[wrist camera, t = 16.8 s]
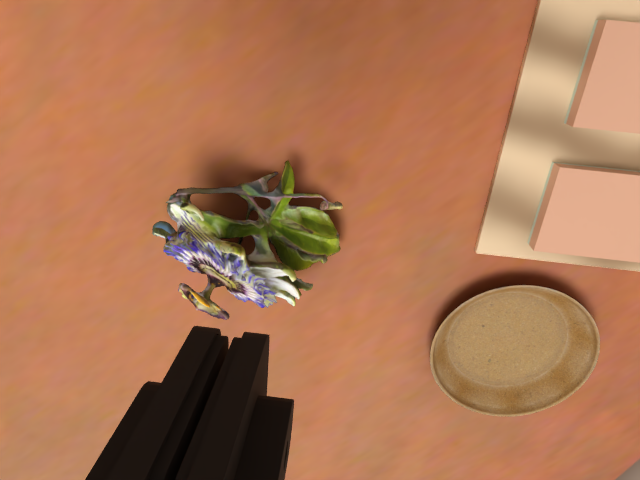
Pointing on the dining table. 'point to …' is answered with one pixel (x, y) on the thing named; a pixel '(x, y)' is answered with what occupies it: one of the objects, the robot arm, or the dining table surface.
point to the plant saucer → (514, 350)
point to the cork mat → (551, 129)
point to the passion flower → (260, 266)
